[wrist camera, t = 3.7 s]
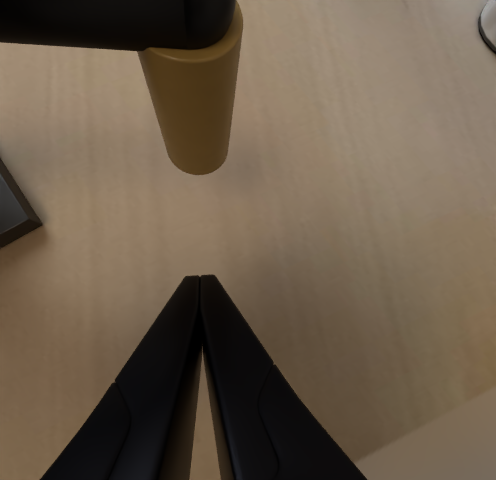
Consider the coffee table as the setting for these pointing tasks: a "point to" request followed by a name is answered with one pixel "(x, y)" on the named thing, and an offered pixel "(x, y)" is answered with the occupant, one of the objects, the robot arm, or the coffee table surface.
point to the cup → (489, 24)
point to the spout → (154, 59)
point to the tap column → (14, 210)
